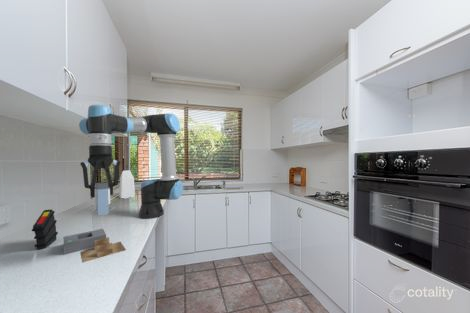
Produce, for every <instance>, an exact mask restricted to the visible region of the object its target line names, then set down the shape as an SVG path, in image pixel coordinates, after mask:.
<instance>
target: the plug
mask: <svg viewBox="0 0 470 313" xmlns="http://www.w3.org/2000/svg"><path fill="white" fill-rule="evenodd" d="M108 187H109V185H108V181H104V182H96V183H95V188H96V189H97V206H95V208H96V215H97V216H98V217H99V216H103V215H104V216H105V215H109V212H110V211H109V210H110V207H109V206H110V204H109V202H108Z"/></svg>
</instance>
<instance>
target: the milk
mask: <svg viewBox="0 0 470 313" xmlns="http://www.w3.org/2000/svg"><path fill="white" fill-rule="evenodd" d="M135 188H136V187H135V178H134V175H133V173H132V172H131V170H128V169H126V170H122V172H121V174H120V177H119V192H118V193H119V194H118V195H119V198H120V199H121V198H124V199H130V198H129V197H132V198H136V189H135Z"/></svg>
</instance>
